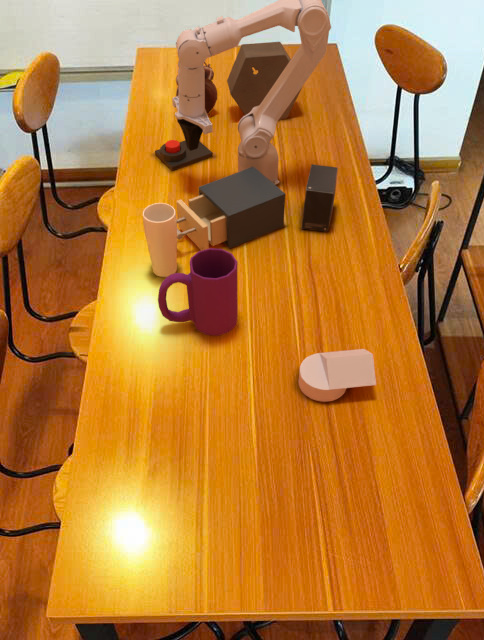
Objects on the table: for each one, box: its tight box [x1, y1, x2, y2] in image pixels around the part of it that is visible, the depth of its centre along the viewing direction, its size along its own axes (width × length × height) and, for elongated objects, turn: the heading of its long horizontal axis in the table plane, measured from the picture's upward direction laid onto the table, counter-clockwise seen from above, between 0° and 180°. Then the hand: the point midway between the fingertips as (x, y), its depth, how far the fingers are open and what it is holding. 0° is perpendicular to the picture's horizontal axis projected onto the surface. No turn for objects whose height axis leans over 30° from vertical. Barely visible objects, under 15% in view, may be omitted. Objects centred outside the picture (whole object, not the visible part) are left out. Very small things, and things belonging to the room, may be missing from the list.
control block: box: [154, 140, 213, 172], centre depth 177 cm, size 12×9×3 cm
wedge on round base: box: [298, 348, 377, 403], centre depth 126 cm, size 9×7×13 cm
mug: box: [157, 247, 239, 337], centre depth 133 cm, size 9×16×15 cm, turn 99°
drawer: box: [175, 194, 227, 251], centre depth 153 cm, size 18×12×7 cm, turn 122°
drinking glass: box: [142, 202, 178, 278], centre depth 143 cm, size 7×7×15 cm
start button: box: [164, 139, 180, 153], centre depth 174 cm, size 4×4×2 cm
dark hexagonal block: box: [226, 41, 304, 121], centre depth 184 cm, size 17×8×21 cm
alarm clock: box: [175, 61, 218, 116], centre depth 184 cm, size 11×5×15 cm, turn 115°
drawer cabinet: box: [198, 167, 286, 250], centre depth 156 cm, size 15×13×9 cm
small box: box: [301, 163, 339, 232], centre depth 156 cm, size 11×6×10 cm, turn 168°
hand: (192, 148), depth 161 cm, fingers closed
